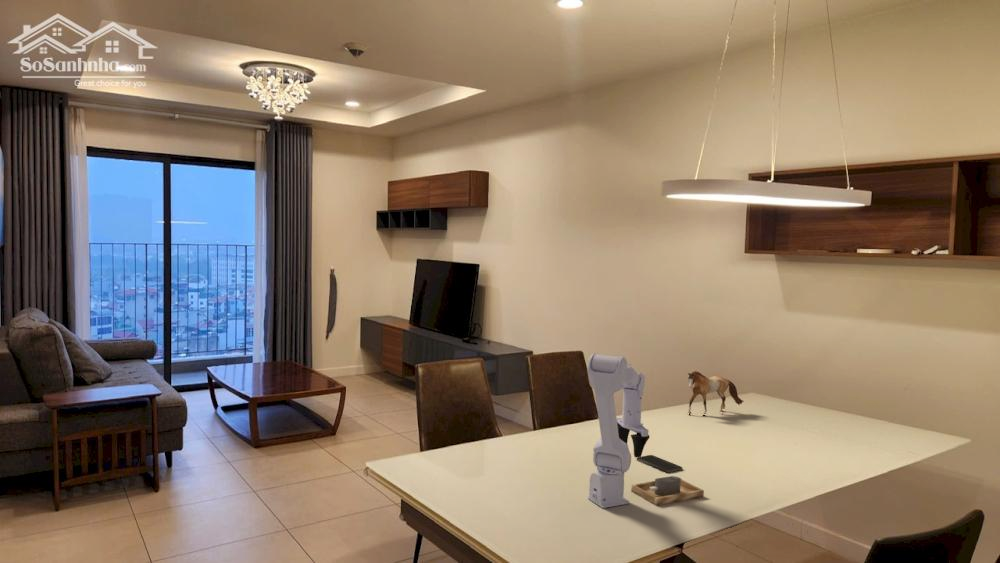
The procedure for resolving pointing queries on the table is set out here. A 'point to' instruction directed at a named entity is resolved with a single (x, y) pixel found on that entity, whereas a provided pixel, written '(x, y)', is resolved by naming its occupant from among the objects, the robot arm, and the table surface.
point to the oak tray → (685, 493)
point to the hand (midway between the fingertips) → (630, 453)
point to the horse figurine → (711, 388)
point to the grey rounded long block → (667, 486)
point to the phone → (659, 464)
